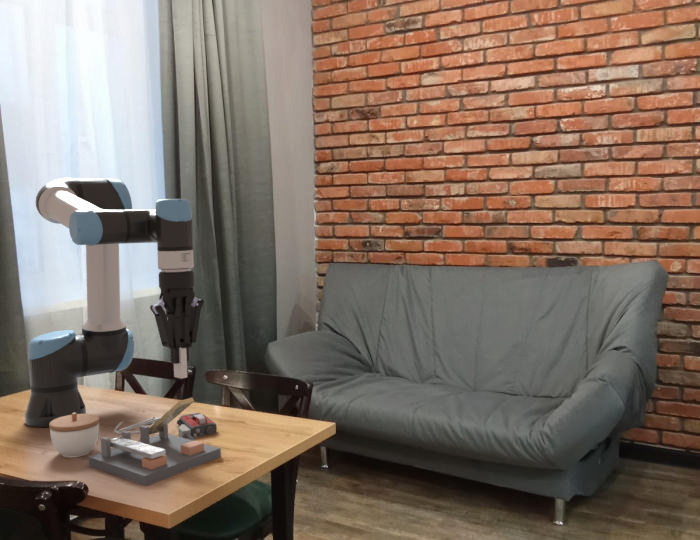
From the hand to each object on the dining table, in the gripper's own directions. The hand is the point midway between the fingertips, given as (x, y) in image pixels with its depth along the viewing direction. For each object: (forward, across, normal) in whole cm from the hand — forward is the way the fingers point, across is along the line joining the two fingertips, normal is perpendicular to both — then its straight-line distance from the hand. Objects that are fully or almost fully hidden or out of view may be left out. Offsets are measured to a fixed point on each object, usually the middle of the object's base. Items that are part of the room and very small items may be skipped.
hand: (180, 377), depth 151 cm
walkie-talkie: (+19, +14, +12) cm, 26 cm away
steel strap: (+15, -10, +4) cm, 18 cm away
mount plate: (+18, -5, +4) cm, 19 cm away
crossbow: (+19, +10, +29) cm, 36 cm away
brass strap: (+11, 0, +5) cm, 12 cm away
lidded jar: (+19, -12, +24) cm, 33 cm away
